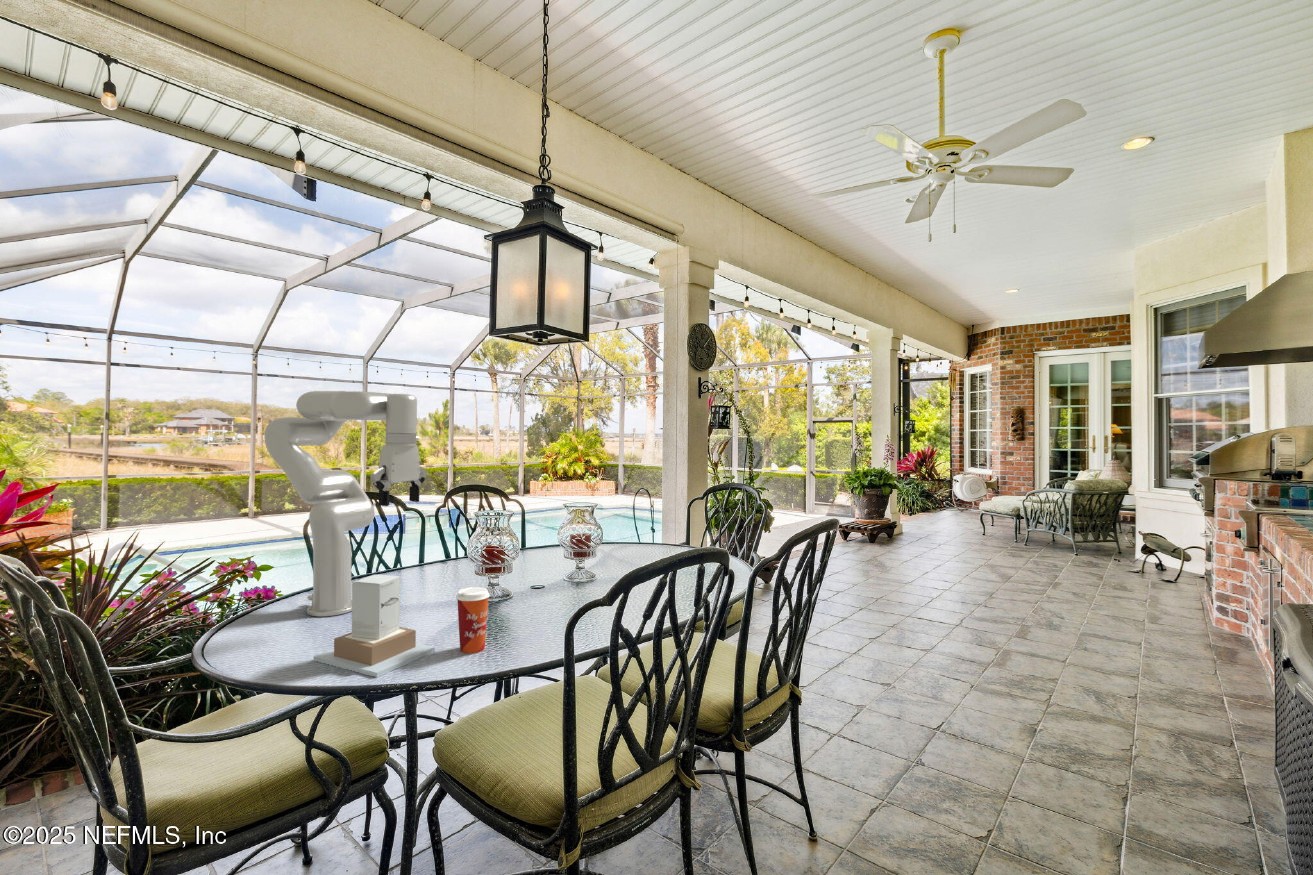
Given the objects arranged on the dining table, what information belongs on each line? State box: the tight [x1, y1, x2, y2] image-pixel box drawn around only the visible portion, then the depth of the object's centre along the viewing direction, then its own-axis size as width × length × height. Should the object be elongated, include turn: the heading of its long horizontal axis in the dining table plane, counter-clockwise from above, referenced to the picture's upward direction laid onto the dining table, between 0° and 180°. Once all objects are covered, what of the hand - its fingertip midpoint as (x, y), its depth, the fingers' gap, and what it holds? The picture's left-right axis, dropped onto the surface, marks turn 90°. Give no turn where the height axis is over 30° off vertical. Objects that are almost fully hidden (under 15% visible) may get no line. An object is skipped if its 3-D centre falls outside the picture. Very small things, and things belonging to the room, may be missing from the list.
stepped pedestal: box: [313, 626, 436, 678], centre depth 133 cm, size 20×16×5 cm
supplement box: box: [351, 574, 401, 639], centre depth 133 cm, size 7×7×13 cm
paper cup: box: [455, 586, 490, 655], centre depth 138 cm, size 8×8×14 cm
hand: (399, 503), depth 155 cm, fingers open, 9 cm apart
